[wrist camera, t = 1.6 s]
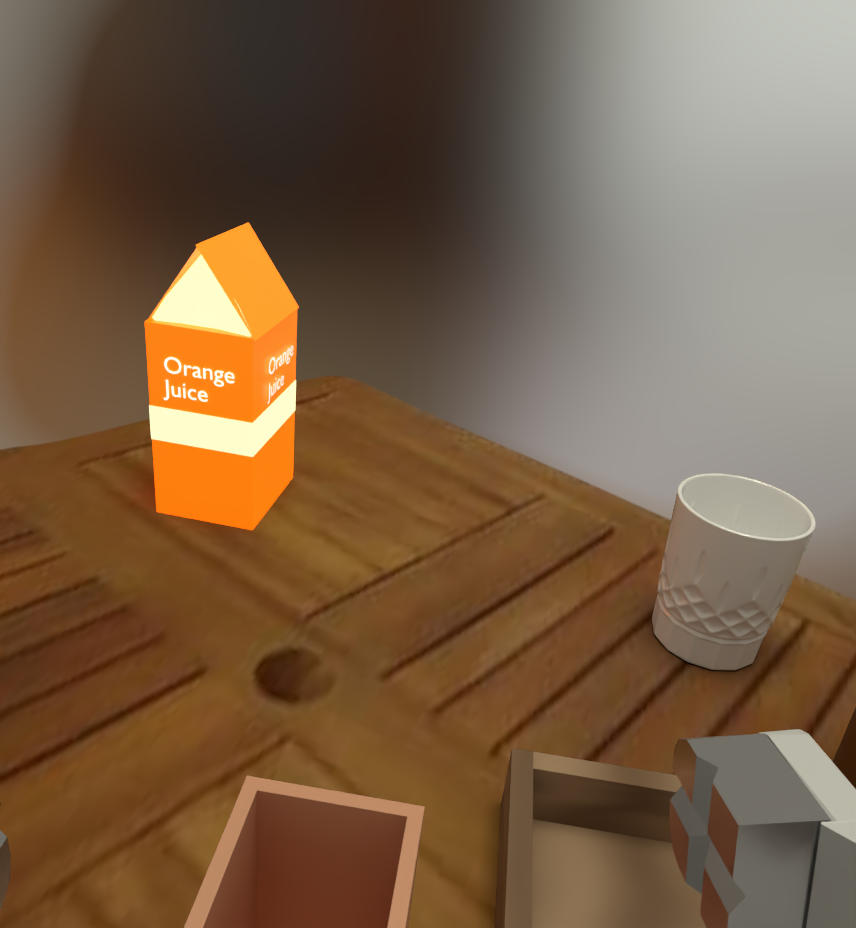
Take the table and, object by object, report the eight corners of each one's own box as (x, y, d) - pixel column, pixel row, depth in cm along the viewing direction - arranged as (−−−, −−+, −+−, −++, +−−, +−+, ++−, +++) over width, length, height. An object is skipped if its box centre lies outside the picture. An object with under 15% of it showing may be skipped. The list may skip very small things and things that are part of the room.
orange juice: (154, 512, 60) (136, 236, 51) (206, 461, 68) (198, 214, 59) (255, 531, 59) (255, 253, 50) (295, 477, 67) (302, 229, 58)
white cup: (700, 589, 58) (737, 465, 53) (793, 657, 52) (844, 523, 47) (617, 617, 54) (650, 485, 49) (707, 693, 48) (754, 551, 43)
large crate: (485, 1083, 29) (500, 1017, 27) (500, 808, 40) (511, 748, 38) (801, 1144, 28) (838, 1081, 26) (728, 847, 39) (751, 787, 37)
